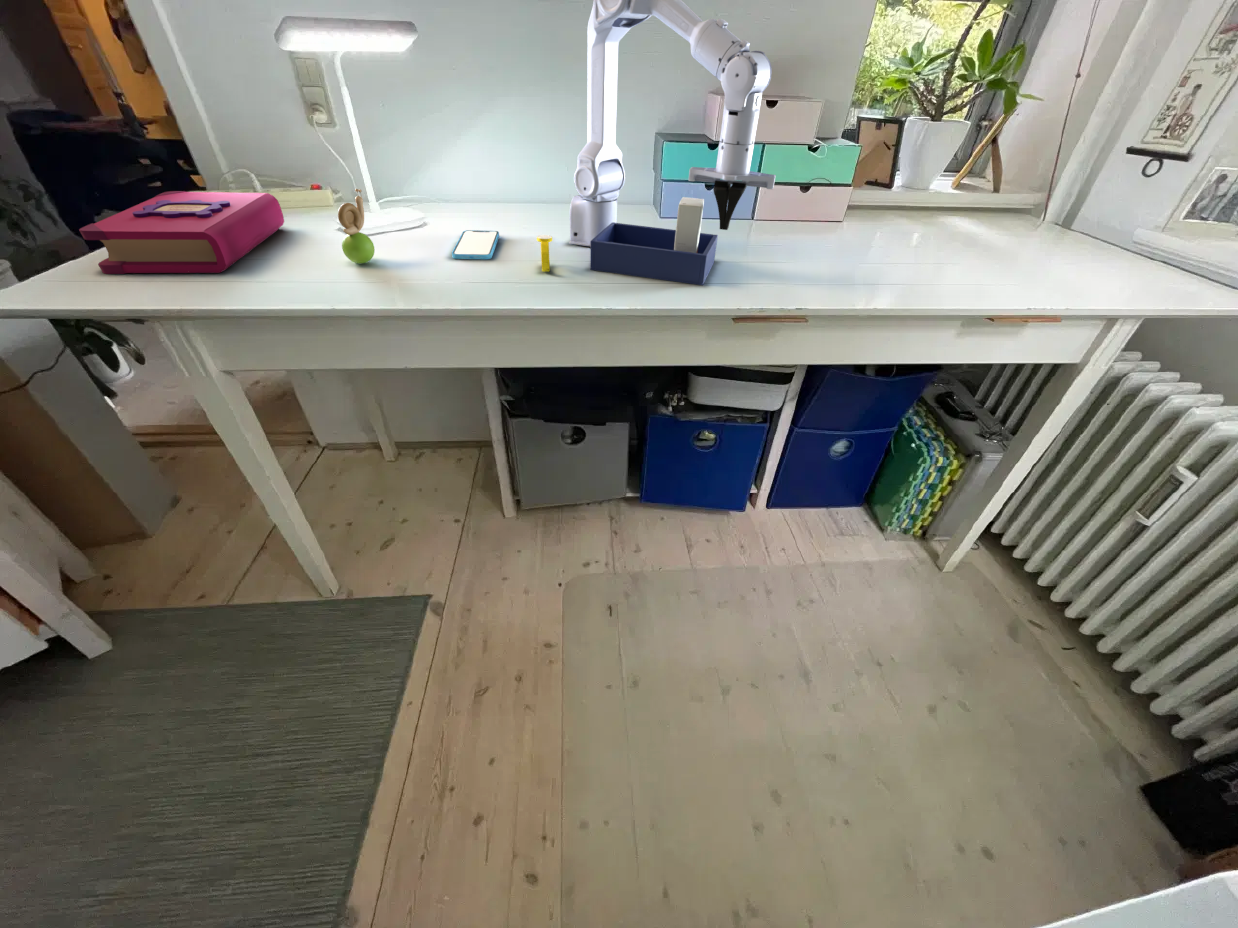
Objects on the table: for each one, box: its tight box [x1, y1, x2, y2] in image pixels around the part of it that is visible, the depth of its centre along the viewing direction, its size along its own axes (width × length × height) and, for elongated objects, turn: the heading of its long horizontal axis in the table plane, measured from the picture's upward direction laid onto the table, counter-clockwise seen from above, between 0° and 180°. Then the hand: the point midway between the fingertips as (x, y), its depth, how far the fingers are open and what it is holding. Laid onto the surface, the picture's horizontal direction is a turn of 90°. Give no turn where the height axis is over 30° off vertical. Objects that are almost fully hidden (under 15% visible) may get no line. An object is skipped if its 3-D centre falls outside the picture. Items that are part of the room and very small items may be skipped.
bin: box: [589, 222, 719, 286], centre depth 105 cm, size 22×14×5 cm, turn 74°
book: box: [78, 190, 285, 275], centre depth 103 cm, size 21×28×8 cm
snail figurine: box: [337, 188, 375, 264], centre depth 99 cm, size 5×6×12 cm
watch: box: [536, 234, 553, 273], centre depth 101 cm, size 6×3×6 cm, turn 6°
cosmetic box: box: [674, 196, 705, 253], centre depth 102 cm, size 6×4×12 cm
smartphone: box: [451, 229, 500, 260], centre depth 112 cm, size 8×1×15 cm
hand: (724, 228), depth 99 cm, fingers closed
